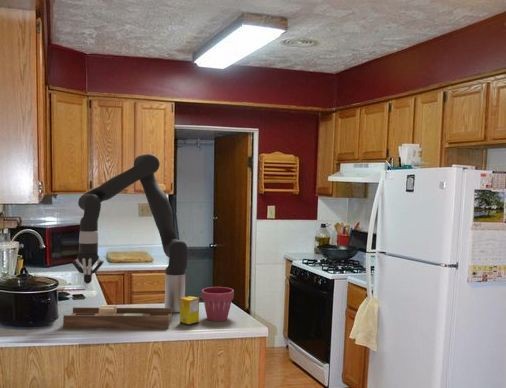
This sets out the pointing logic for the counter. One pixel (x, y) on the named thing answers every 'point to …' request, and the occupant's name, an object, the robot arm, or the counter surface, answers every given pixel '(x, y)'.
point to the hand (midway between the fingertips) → (87, 283)
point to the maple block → (107, 310)
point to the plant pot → (217, 302)
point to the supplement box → (189, 310)
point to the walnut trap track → (119, 318)
